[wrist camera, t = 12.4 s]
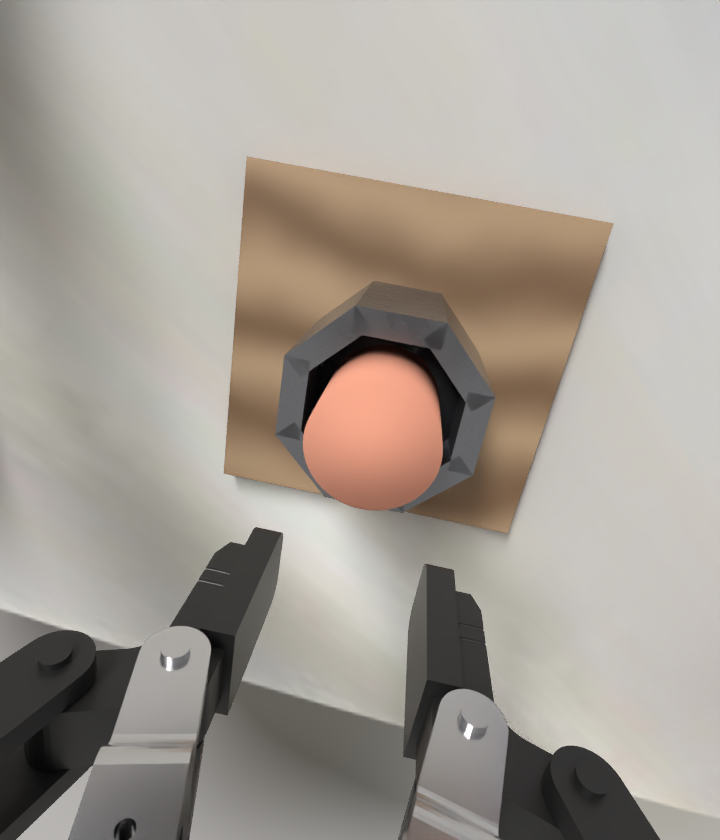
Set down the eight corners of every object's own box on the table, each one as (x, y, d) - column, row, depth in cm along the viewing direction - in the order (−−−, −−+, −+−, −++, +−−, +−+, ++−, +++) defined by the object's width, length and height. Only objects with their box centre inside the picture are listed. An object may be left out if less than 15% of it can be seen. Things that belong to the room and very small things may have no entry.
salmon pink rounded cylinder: (337, 334, 25) (312, 369, 19) (450, 356, 25) (458, 398, 19) (321, 437, 27) (295, 495, 22) (425, 458, 27) (425, 522, 21)
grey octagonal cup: (326, 271, 30) (291, 292, 22) (490, 302, 29) (513, 336, 22) (305, 421, 34) (269, 484, 26) (450, 450, 33) (458, 524, 25)
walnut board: (255, 159, 29) (246, 156, 28) (604, 223, 28) (613, 223, 27) (231, 463, 37) (223, 473, 36) (504, 520, 36) (507, 533, 35)
